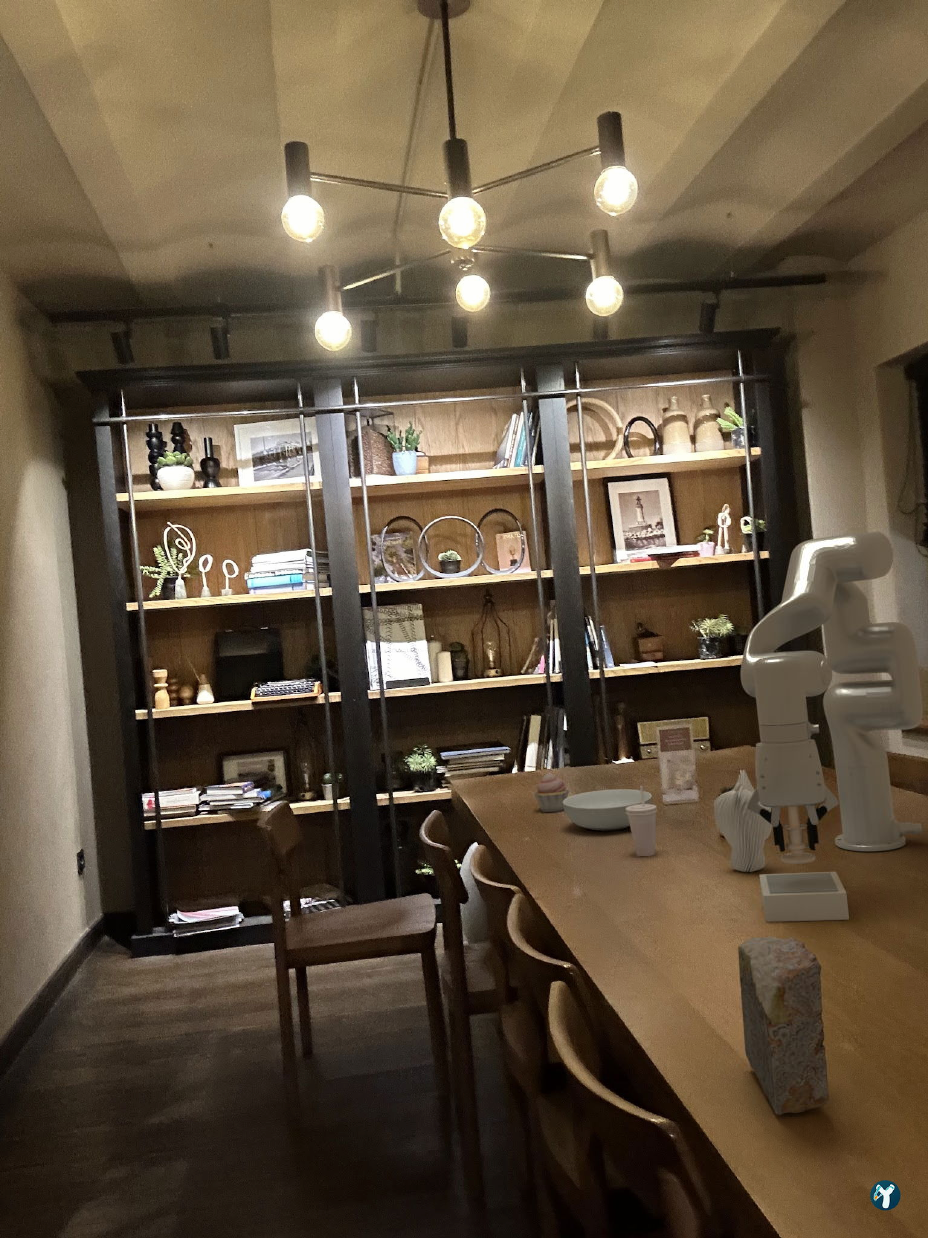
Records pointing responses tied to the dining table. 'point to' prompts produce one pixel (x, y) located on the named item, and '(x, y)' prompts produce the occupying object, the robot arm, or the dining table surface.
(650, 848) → the smoothie
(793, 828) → the candle
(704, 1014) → the dining table surface
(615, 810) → the serving bowl
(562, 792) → the cupcake
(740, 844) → the shell sculpture
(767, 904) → the plinth
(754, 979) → the geological specimen
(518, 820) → the dining table surface
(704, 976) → the dining table surface
